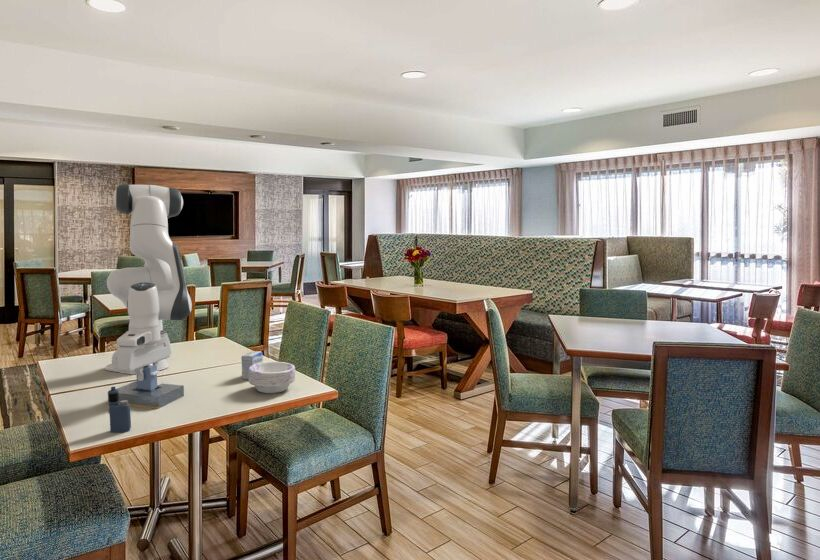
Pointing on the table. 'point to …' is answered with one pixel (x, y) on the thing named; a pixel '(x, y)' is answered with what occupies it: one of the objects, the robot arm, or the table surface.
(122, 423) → the vaping device
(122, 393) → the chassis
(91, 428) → the table surface
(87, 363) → the table surface
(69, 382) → the table surface
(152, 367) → the servo block
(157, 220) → the robot arm
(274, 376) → the paper bowls
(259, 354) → the medicine box
